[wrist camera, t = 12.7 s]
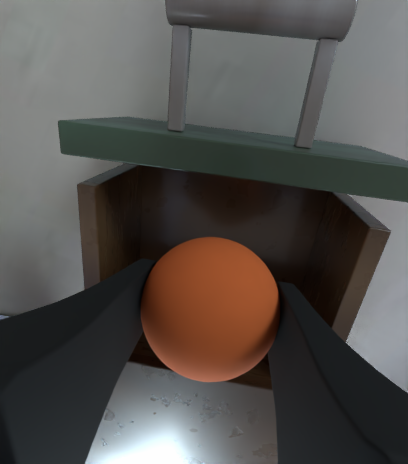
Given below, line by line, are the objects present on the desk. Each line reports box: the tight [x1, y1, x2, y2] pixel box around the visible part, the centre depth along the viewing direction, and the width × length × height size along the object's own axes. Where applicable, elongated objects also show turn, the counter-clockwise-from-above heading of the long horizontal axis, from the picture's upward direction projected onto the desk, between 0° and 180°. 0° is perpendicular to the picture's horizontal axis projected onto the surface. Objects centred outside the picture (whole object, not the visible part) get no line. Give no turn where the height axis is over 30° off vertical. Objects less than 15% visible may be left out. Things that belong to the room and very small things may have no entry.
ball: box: [141, 237, 280, 382], centre depth 10 cm, size 5×5×5 cm
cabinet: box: [85, 352, 278, 464], centre depth 20 cm, size 13×14×8 cm
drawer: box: [58, 0, 408, 380], centre depth 14 cm, size 17×13×7 cm
